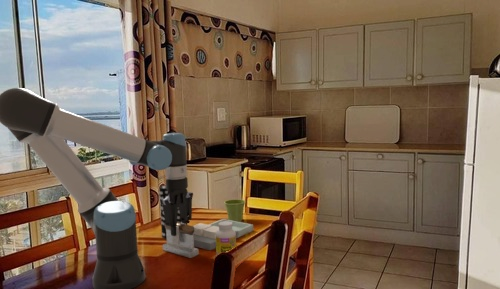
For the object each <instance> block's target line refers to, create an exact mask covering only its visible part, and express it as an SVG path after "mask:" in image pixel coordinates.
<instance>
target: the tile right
mask: <svg viewBox="0 0 500 289" xmlns="http://www.w3.org/2000/svg"><path fill="white" fill-rule="evenodd" d="M218 230H219V227H217V226H212V227H209V228H207V229H204V230H203V236H204V237H208V238H212V239H216V232H217V231H218Z"/></svg>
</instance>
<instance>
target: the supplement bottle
mask: <svg viewBox="0 0 500 289" xmlns="http://www.w3.org/2000/svg"><path fill="white" fill-rule="evenodd" d="M218 227H219V230H218V231H217V232H216V248H215V250H216V251H215V253H216V255H218V254H219V253H221V252H226V251H229V250H231V249H232V248H234V247H236V248H237V238H236V232H235V231H234V230H233V229H232V227H233V224H232V222H230V221H223V222H220V223H219V224H218Z"/></svg>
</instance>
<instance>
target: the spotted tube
mask: <svg viewBox="0 0 500 289" xmlns="http://www.w3.org/2000/svg"><path fill="white" fill-rule="evenodd" d="M158 189H159V190H158V191H159V192H158V193H159V206H160V207H159V208H160V224H161V238H162V239H164V240H167V237H166V229H165V226H164V225H165V217H164V209H163V204H162V202H161V199H165V198H166V197H167V193H168V190H167V189H166V184H164V185H160V186H159V188H158ZM169 201H170V200H169ZM177 223H182V222H181V218H180V212H179V207H178V213H177Z"/></svg>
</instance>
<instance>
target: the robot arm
mask: <svg viewBox="0 0 500 289" xmlns="http://www.w3.org/2000/svg"><path fill="white" fill-rule="evenodd" d="M0 124H1V125H2V126H4V127H6V128H7V129H8V131H10V132H11V134H12V135H13V136H14V137H15V138H16V139H17V141H18V142H19V143H24V144H28V146H29V147H30V148H31V149H32V150H33V151H34V152H35V154H36V155H37V156H38V157H39V159H40V160H41V161H42V162H43V164H44V165H45V166H46V167H47V168H48V169H49V170H50V172H51V173H52V174H53V175H54V177H55V178H56V179H57V181H58V182H59V183H60V184H61V185H62V186H63V187H64V188H65V190H66V191H67V192H68V194H69V195H70V196H71V197H72V198H73V199H74V201H76V204H78V206H77V207H78V208H77V212H78V214H79V215H80V216H81V217H82V219H83V220H84V221H85V222H86V223H87V224H88V226H89V227H90V228H91V230H92V232H93V234H94V235H95V236H94V238H95V249H96V263H95V267H94V270H93V271H94V272H93V275H92V278H91V279H92V288H93V289H135V288H136V287H138V286H140V285H141V284H143V283H144V282H145V280H146V272H145V267H144V264H143V263H142V261H141V259H140V256H139V253H138V252H139V251H138V239H137V238H138V237H137V222H136V220H137V214H136V210H135V207H134V205H133V204H131V203H130V202H129V201H128V202H127V201H124V200H119V199H118V198H117V197H116V195H115V194H114V192H112V191H111V188H108V187H103V186H101V185H100V183H99V182H98V180H96V178H95V177H94V175H93V174H92V173H91V172H90V171H89V169H88V167H86V166H85V164H84V163H83V162H82V160H81V159H80V158H79V157H78V156H77V154H76V153H75V152H74V150H73V148H71V146H70V145H69V144H68V143H67V142H66V141H68V142H71V143H74V144H77V145H81V146H84V147H87V148H90V149H93V150H96V151H99V152H102V153H106V154H107V155H108V154H109V155H110V156H114V157H118V158H121V159H124V160H127V161H128V162H129V164H130V165H131V166H132V165H133V166H135V165H138V166H140V165H142V166H144V167H148V168H150V169H152V170H155V171H164V173H165V174H164V175H165V178H166V179H165V185H166V189H167V190H168V193H167V197H166V198H165V199H161V202H162V204H163V209H164V217H165V224H166V226H170V227H171V235H172V239H173V244H176V245H179V244H180V241H179V226H177V213H178V207H179V212H180V218H181V222H182V223H180V224H185V225H188V224H190V221H191V220H192V216H193V214H192V212H193V196H194V193H193V192H192V191H191V192H189V191H188V190H187V188H188V187H189V185H188V183H189V182H188V177H187V176H188V166H187V164H188V162H187V144H186V136H185V134H184V133H181V132H169V133H164V134H163V136H162V139H160V140H147V139H145V138H142V137H139V136H136V135H134V134H132V133H128V132H126V131H122V130H121V129H117V128H113V127H112V126H109V125H105V124H103V123H100V122H98V121H95V120H91V119H90V118H86V117H83V116H81V115H78V114H75V113H72V112H70V111H67V110H65V109H62V108H60V107H59V105H58V103H56V102H52V101H50V100H48V99H46V98H43V97H42V96H39V95H38V94H36V93H34V92H33V91H31V90H29V89H26V88H22V87H13V88H9V89H6V90H4V91H3V92H1V93H0ZM169 200H170V201H169Z"/></svg>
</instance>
